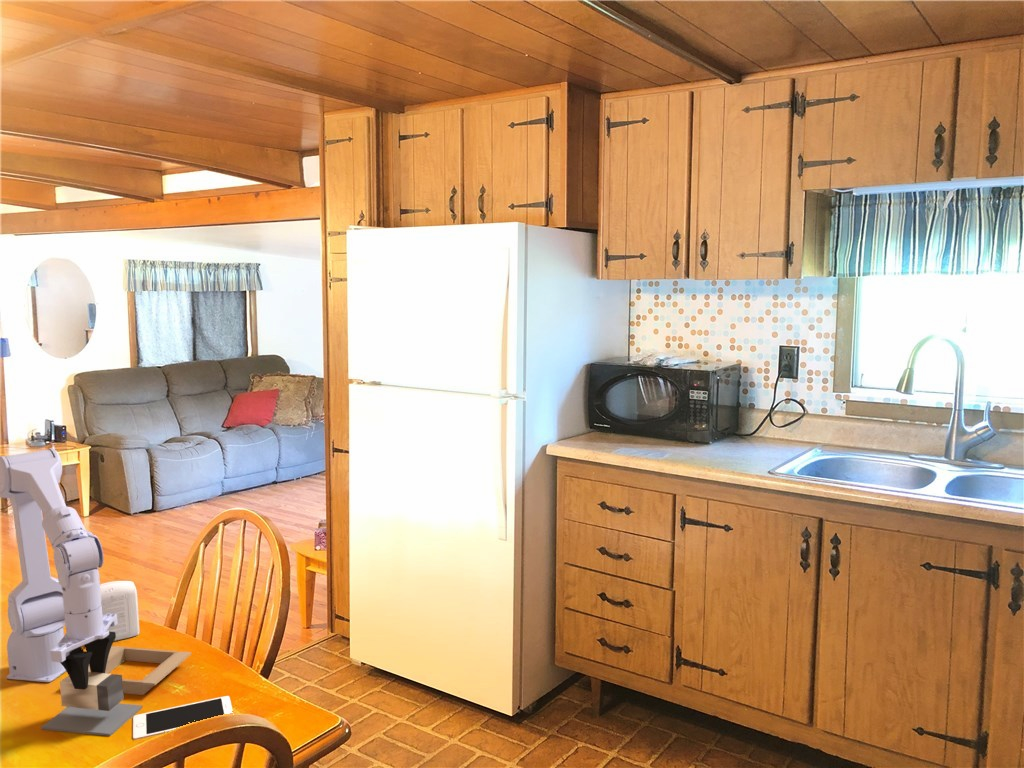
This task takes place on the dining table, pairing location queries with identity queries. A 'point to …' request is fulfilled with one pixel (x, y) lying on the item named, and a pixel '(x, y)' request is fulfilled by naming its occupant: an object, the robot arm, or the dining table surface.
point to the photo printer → (121, 607)
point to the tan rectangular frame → (144, 655)
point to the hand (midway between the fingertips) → (89, 681)
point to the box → (93, 692)
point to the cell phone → (178, 716)
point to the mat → (92, 719)
